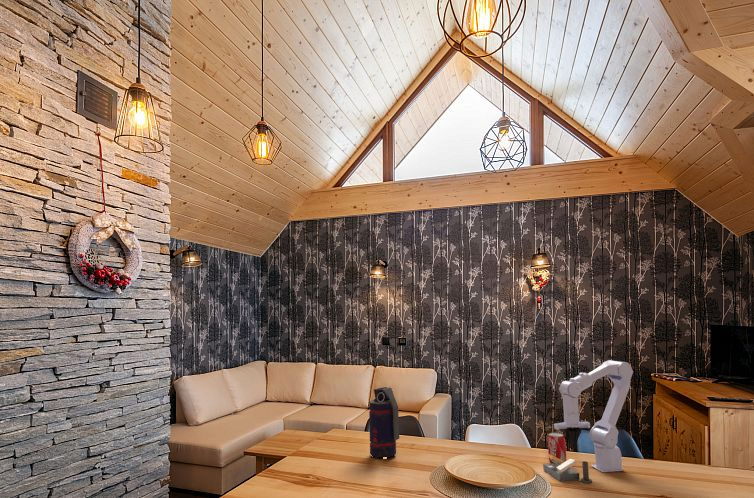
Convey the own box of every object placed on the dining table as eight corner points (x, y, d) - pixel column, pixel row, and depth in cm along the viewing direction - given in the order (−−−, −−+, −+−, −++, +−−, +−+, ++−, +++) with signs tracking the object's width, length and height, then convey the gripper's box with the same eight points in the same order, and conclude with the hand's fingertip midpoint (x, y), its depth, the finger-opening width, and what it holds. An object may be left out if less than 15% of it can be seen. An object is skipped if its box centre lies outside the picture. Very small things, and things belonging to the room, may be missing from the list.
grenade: (364, 457, 219) (363, 388, 222) (379, 450, 229) (378, 385, 232) (390, 462, 211) (389, 391, 214) (404, 455, 221) (403, 387, 224)
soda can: (568, 467, 201) (566, 436, 202) (550, 466, 202) (548, 436, 204) (565, 461, 208) (563, 432, 209) (547, 461, 209) (546, 432, 211)
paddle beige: (572, 461, 190) (570, 458, 190) (577, 464, 187) (575, 460, 187) (557, 470, 189) (555, 467, 189) (562, 473, 186) (560, 470, 186)
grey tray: (561, 468, 199) (561, 458, 199) (579, 479, 186) (578, 469, 187) (543, 470, 198) (542, 459, 198) (560, 481, 185) (559, 470, 185)
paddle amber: (562, 464, 196) (563, 461, 196) (566, 467, 193) (567, 463, 193) (547, 457, 196) (548, 453, 196) (551, 459, 192) (552, 456, 193)
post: (588, 479, 187) (586, 460, 187) (594, 483, 183) (592, 463, 184) (578, 480, 186) (577, 460, 187) (584, 483, 182) (583, 464, 183)
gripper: (559, 415, 192) (561, 451, 190) (593, 413, 194) (596, 448, 192) (550, 411, 199) (552, 445, 197) (583, 409, 201) (585, 443, 199)
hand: (573, 447), depth 195 cm, fingers closed
